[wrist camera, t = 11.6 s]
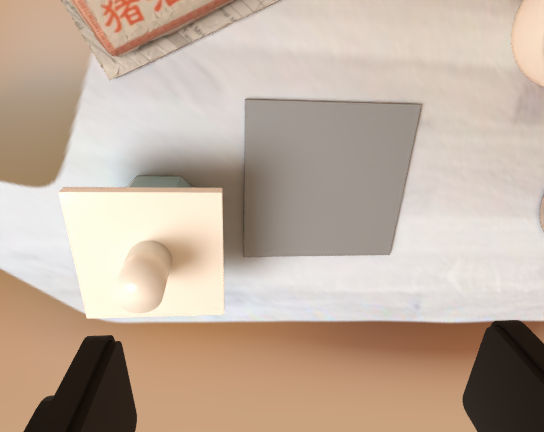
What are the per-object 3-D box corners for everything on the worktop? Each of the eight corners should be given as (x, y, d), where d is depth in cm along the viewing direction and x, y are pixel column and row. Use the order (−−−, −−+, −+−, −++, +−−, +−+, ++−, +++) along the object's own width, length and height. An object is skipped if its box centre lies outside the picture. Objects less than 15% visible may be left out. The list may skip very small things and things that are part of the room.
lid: (222, 187, 30) (220, 218, 25) (224, 307, 35) (222, 352, 30) (63, 187, 28) (28, 219, 23) (90, 310, 34) (66, 358, 29)
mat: (419, 104, 34) (421, 104, 34) (388, 252, 41) (389, 254, 41) (245, 99, 32) (245, 99, 32) (243, 254, 39) (243, 256, 39)
